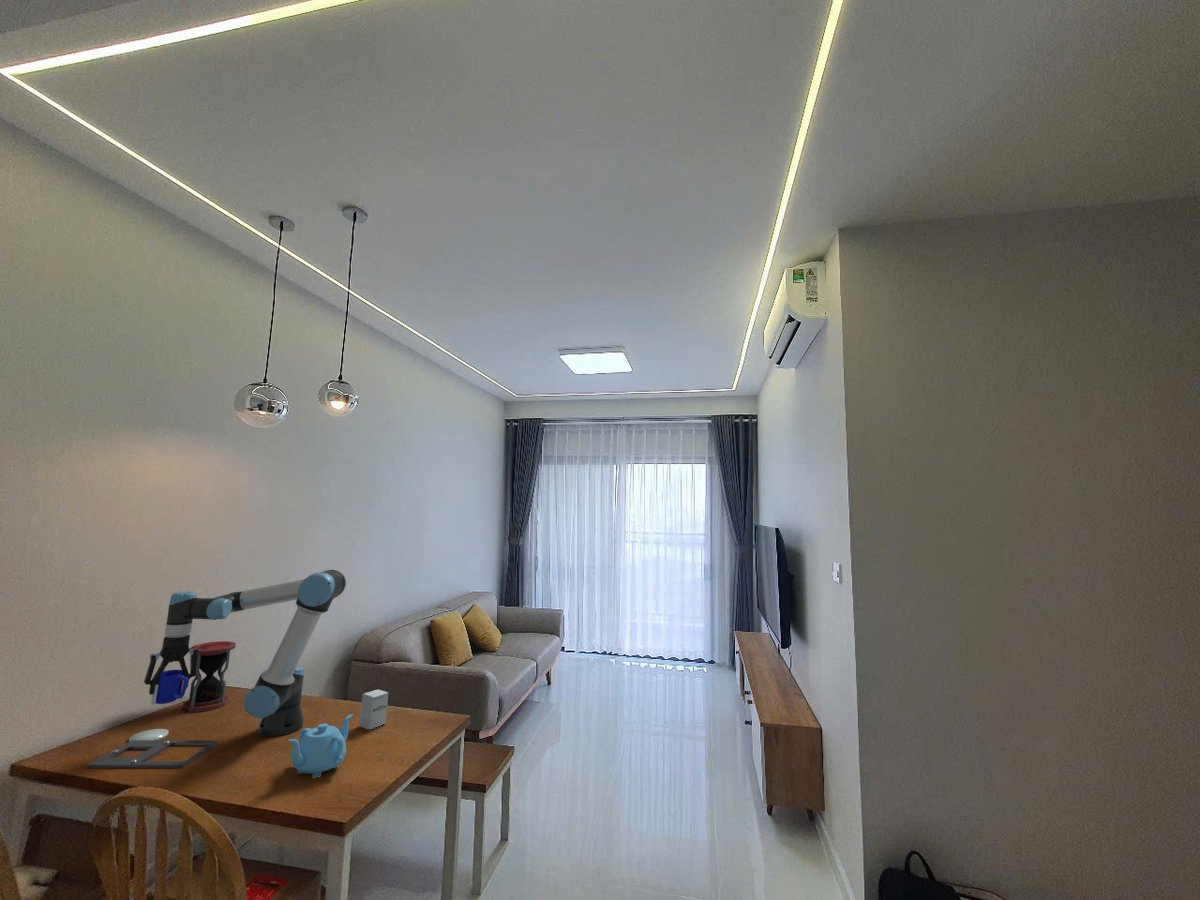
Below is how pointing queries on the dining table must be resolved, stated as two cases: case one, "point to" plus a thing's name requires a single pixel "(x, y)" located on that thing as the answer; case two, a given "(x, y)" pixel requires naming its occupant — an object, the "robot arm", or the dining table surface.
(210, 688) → the hourglass
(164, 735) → the pale grey rounded piece
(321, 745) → the teapot
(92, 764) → the gray cutout board
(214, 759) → the dining table surface
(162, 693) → the mug
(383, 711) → the supplement box
